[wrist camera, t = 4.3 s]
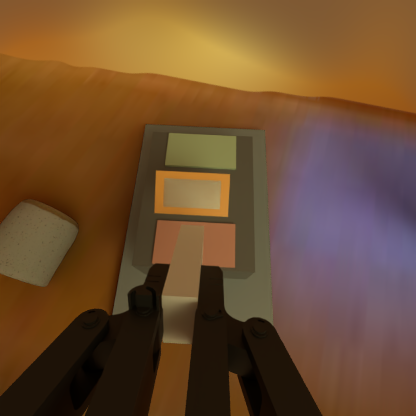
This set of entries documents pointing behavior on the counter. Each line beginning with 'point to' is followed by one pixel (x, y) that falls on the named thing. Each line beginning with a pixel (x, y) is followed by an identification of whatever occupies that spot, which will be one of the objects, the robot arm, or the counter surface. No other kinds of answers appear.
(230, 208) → the breaker box
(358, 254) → the counter surface
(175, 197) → the breaker lever
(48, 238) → the ceramic mug
